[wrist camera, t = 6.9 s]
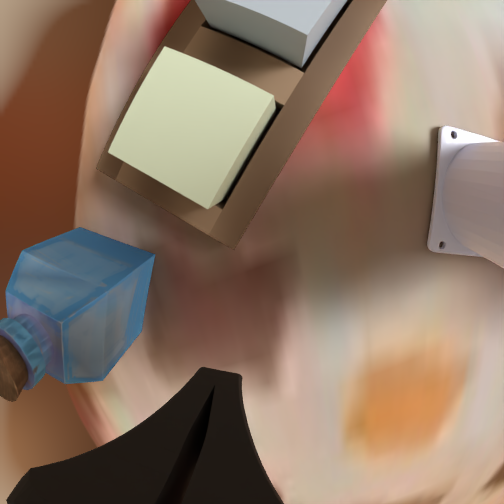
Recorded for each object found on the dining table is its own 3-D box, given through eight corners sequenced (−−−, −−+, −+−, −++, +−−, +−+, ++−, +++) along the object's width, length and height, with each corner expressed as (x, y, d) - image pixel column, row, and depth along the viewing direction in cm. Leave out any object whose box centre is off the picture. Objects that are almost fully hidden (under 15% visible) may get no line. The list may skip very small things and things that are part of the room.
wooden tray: (415, -44, 12) (428, -64, 9) (241, 236, 19) (233, 250, 16) (306, -94, 11) (307, -117, 9) (120, 166, 18) (95, 168, 16)
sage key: (276, 113, 16) (273, 95, 11) (226, 197, 17) (207, 209, 13) (192, 71, 15) (164, 46, 11) (147, 153, 17) (107, 152, 13)
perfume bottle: (80, 227, 20) (-54, 286, 8) (155, 254, 20) (34, 351, 8) (73, 301, 22) (-30, 384, 10) (141, 331, 22) (53, 446, 10)
